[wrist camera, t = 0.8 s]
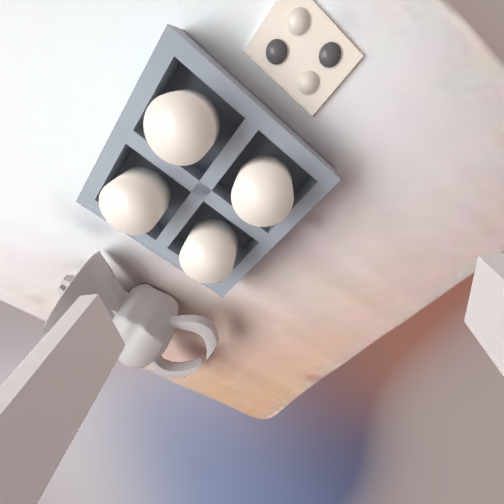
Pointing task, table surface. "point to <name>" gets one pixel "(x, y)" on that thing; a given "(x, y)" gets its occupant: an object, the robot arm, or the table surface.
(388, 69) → the table surface
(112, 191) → the button
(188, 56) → the button board
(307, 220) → the table surface
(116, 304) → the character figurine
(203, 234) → the button
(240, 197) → the button
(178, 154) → the button
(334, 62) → the card
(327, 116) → the table surface
